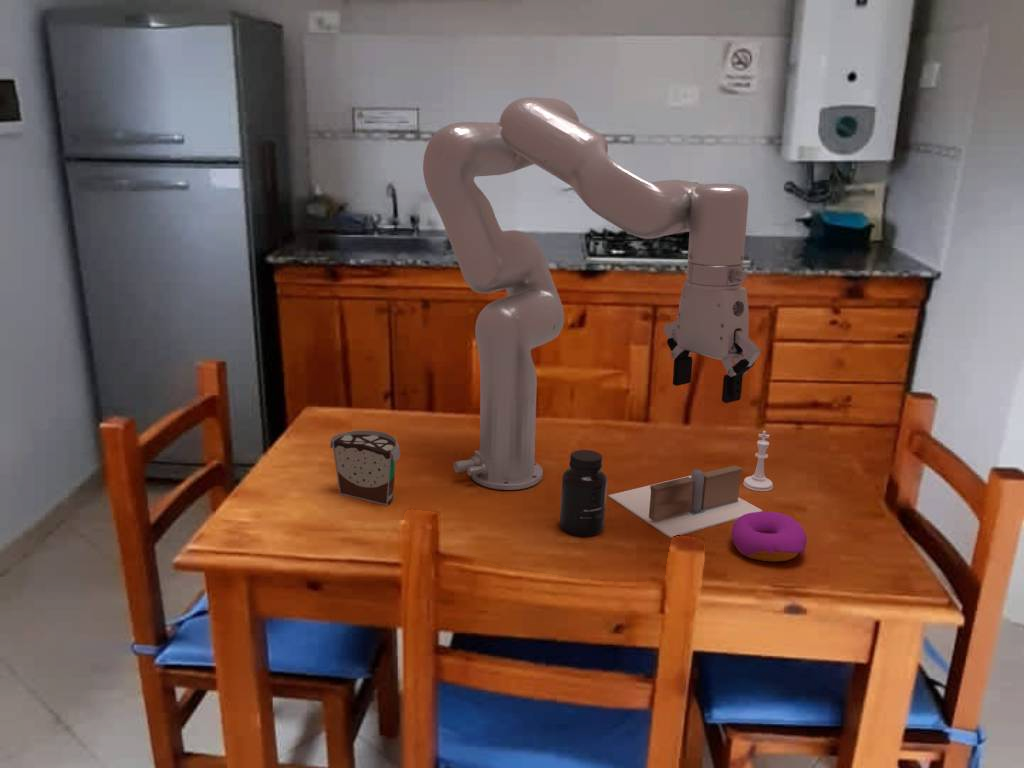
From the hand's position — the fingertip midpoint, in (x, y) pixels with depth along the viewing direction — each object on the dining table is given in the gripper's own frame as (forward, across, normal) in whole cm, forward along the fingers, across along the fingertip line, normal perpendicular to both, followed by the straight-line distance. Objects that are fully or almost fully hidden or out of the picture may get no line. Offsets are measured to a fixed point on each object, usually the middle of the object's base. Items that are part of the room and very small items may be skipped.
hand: (705, 392), depth 122 cm
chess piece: (+23, +7, -22) cm, 32 cm away
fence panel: (+22, +5, 0) cm, 22 cm away
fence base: (+22, +8, -6) cm, 24 cm away
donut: (+23, -9, -5) cm, 25 cm away
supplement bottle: (+22, +10, +14) cm, 28 cm away
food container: (+22, +38, +36) cm, 57 cm away
